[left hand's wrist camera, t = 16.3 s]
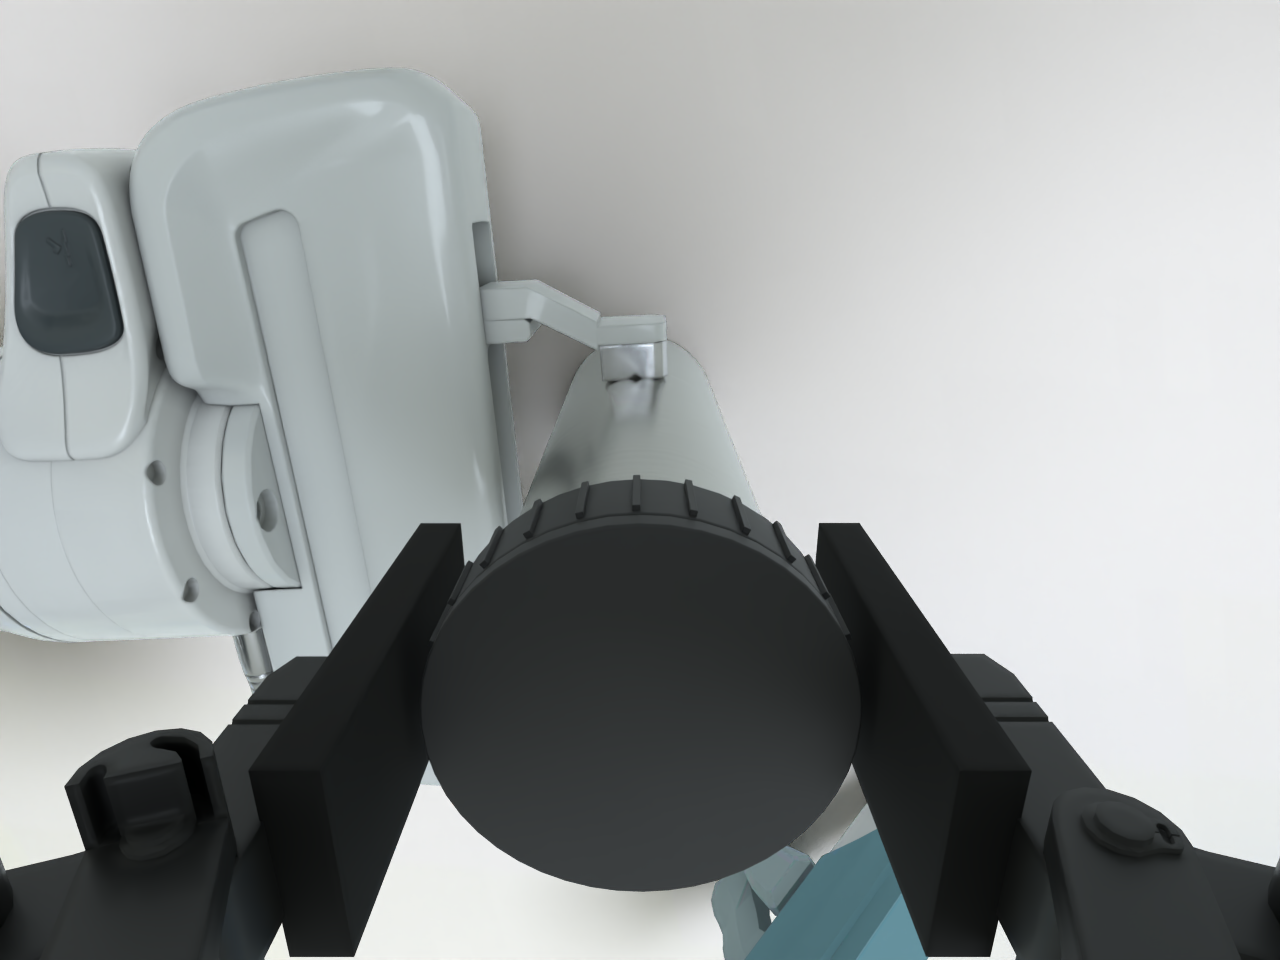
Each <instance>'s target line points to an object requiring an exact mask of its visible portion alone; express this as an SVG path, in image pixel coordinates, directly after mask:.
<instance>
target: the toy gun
mask: <svg viewBox="0 0 1280 960" xmlns="http://www.w3.org/2000/svg"><path fill="white" fill-rule="evenodd" d="M711 902H712V907H713V912H714V916H715V918H716V920H717V922H718V924H719V926H720V929H721V931H722V934H723V953H724V958H725V960H927V959H928V957H926V956H925V953H924V950H923V948H922V945H921V943H920V940H919V937H918V935H917V932H916V929H915V927H914V924H913V922H912V919H911V916H910V914H909V911H908V909H907V906H906V903H905V901H904V898H903V895H902V893H901V890H900V888H899V885H898V882H897V880H896V877H895V875H894V872H893V869H892V867H891V864H890V861H889V859H888V856H887V854H886V851H885V848H884V846H883V843H882V841H881V838H880V835H879V833H878V830H877V827H876V825H875V822H874V820H873V817H872V814H871V812H870V809H869V806H868V804H867V803H866V805H865V806H864V807H863V809H862V810H861V811H860V813H859V814H858V815H857V817H856V818H855V819H854V821H853V822H852V823H851V825H850V826H849V827H848V829H847V830H846V831H845V833H844V834H843V836H842V837H841V838H840V840H839V841H838V842H837V844H836V845H835V846H834V848H833V849H832V850H831V852H829V853H827V854H825V855H823V856H822V857H821V858H820V859H819V861H818V862H817V863H816V865H815V863H814V862H813V861H812V859H811V858H810V857H809V856H808V855H807V854H804V853H802V852H800V851H798V850H796V849H794V848H791V847H789V846H786V847H784V848H783V849H781V850H780V851H778V852H777V853H775V854H774V855H772V856H771V857H769V858H767V859H766V860H764V861H762V862H760V863H758V864H756V865H754V866H752V867H750V868H748V869H746V870H744V871H741V872H739V873H736V874H733V875H731V876H728V877H725V878H723V879H720V880H719V881H718V882H717V883H716V884H715V887H714V891H713V894H712V899H711ZM770 910H771V911H772V913H773V914H774V915H775V916H777V917H776V918H775V919H774V921H773V922H772V923H771V919H770Z"/></svg>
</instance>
